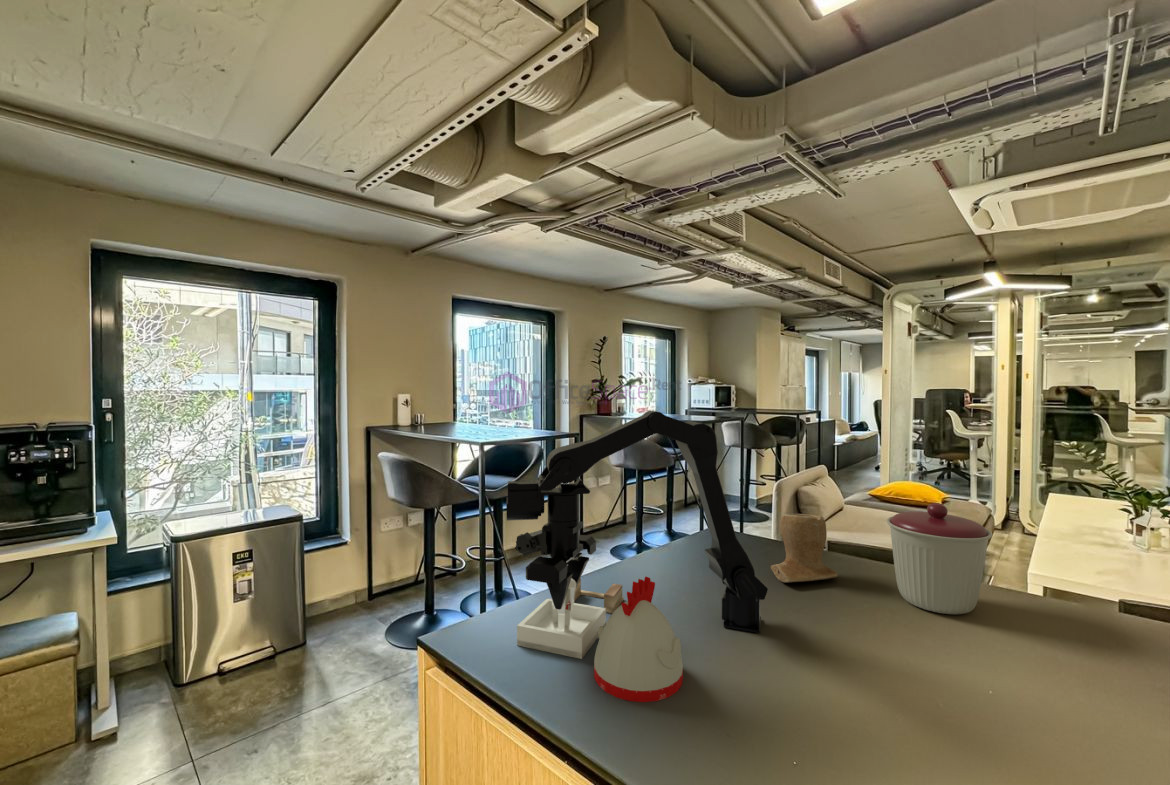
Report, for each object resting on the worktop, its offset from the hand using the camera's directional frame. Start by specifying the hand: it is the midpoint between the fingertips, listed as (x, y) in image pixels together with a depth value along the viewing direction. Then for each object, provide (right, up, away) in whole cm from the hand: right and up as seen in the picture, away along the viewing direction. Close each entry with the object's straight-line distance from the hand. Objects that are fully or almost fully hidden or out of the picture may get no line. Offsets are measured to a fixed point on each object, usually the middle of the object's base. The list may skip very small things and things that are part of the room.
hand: (563, 603), depth 93 cm
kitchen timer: (+12, -6, -12) cm, 18 cm away
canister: (+77, -6, +14) cm, 79 cm away
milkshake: (0, -5, -1) cm, 5 cm away
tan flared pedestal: (+55, -6, +29) cm, 63 cm away
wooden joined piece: (+5, -6, +14) cm, 16 cm away
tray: (0, -6, 0) cm, 6 cm away
